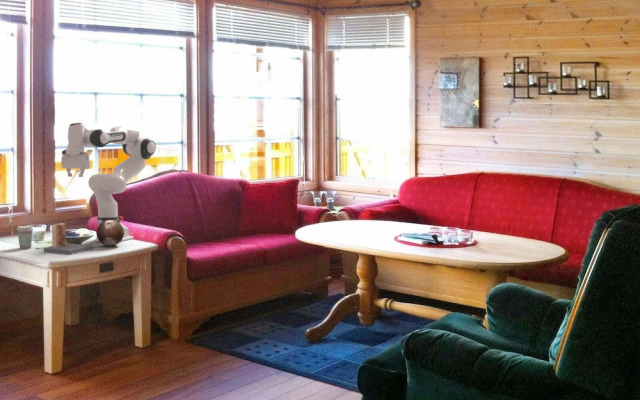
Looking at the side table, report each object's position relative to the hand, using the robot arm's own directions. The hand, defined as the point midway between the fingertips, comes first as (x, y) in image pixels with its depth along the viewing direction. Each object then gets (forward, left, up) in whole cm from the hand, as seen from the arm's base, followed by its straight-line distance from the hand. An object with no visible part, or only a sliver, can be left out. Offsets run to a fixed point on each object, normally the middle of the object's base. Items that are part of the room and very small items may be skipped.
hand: (75, 176), depth 453 cm
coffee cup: (+20, -18, -39) cm, 48 cm away
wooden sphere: (-12, +14, -39) cm, 43 cm away
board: (+11, +6, -39) cm, 41 cm away
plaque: (+12, 0, -37) cm, 39 cm away
